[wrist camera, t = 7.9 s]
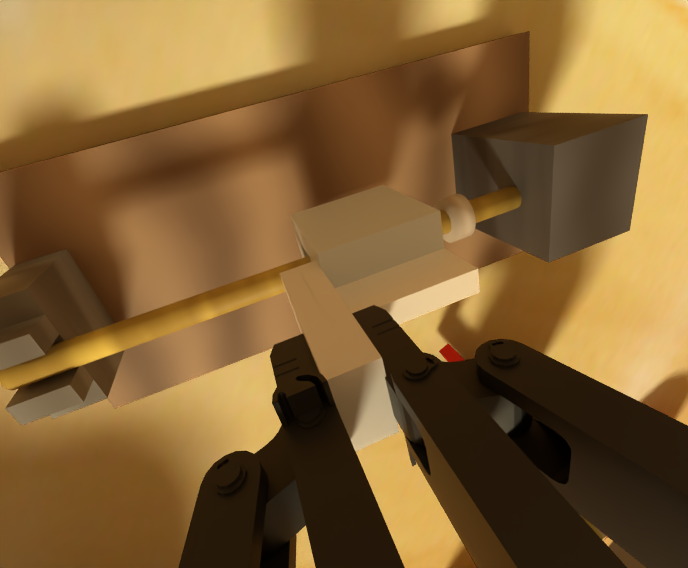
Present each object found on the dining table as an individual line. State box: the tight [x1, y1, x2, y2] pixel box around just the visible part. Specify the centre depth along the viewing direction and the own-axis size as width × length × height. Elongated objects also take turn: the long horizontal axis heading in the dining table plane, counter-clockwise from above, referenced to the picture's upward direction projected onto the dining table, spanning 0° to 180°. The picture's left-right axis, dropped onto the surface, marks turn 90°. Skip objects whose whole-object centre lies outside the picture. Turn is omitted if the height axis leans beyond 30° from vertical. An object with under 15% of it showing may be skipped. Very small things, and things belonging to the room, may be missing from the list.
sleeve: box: [289, 185, 479, 325], centre depth 16 cm, size 5×4×8 cm
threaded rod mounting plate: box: [0, 31, 648, 425], centre depth 19 cm, size 30×14×9 cm, turn 103°
